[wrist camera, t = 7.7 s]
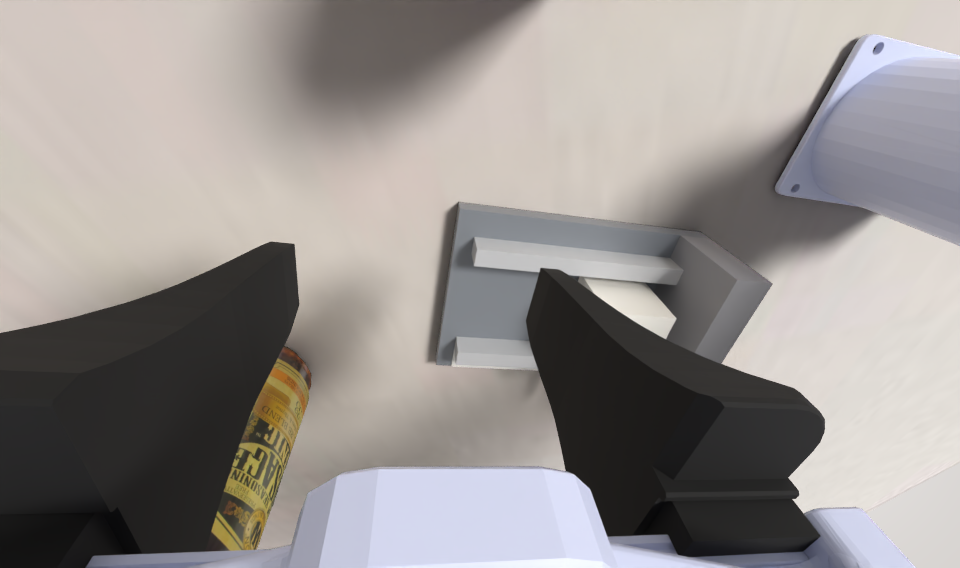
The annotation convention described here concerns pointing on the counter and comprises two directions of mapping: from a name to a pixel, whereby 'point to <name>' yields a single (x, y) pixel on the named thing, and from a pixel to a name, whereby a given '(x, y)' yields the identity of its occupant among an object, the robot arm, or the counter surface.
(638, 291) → the block
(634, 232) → the board
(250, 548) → the sauce bottle
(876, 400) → the counter surface
